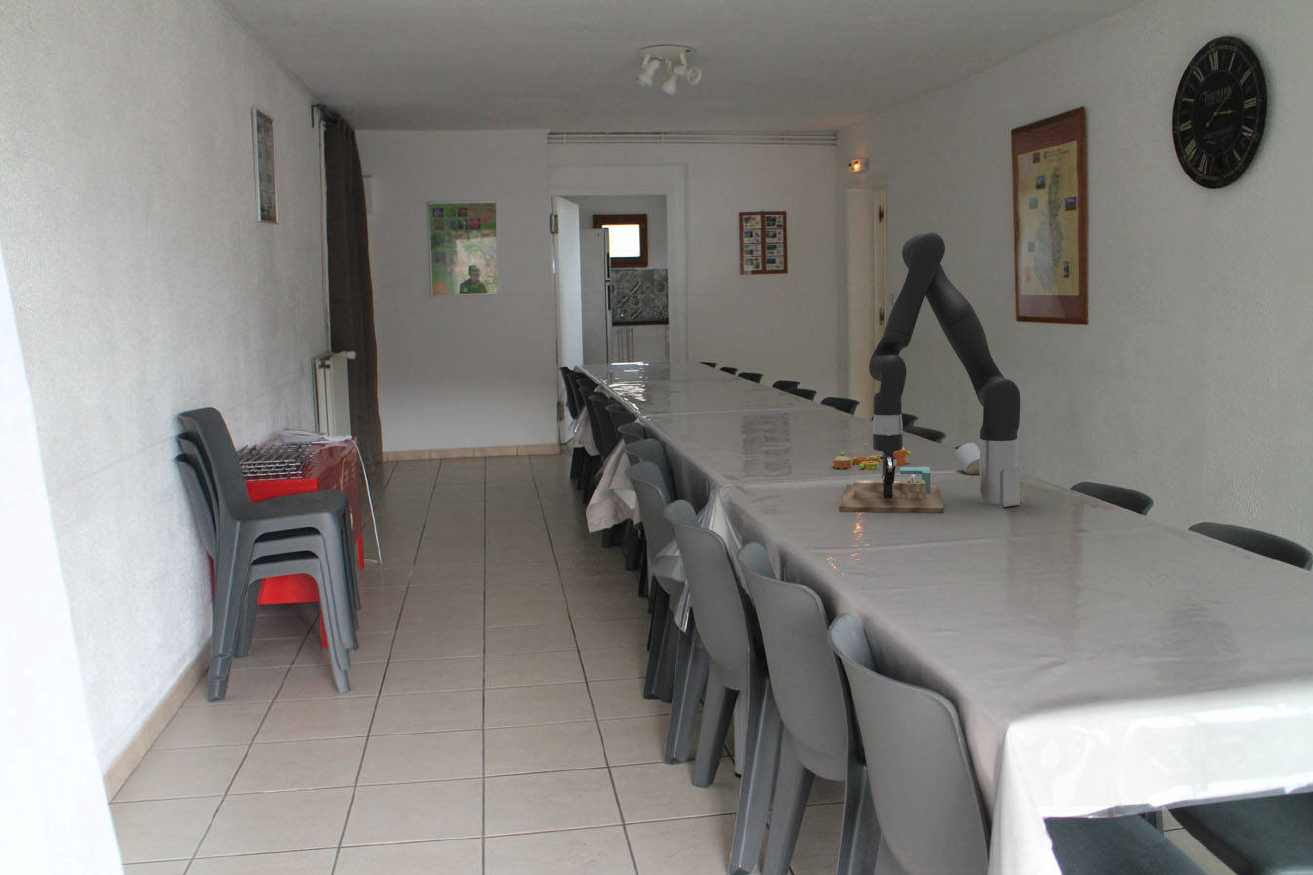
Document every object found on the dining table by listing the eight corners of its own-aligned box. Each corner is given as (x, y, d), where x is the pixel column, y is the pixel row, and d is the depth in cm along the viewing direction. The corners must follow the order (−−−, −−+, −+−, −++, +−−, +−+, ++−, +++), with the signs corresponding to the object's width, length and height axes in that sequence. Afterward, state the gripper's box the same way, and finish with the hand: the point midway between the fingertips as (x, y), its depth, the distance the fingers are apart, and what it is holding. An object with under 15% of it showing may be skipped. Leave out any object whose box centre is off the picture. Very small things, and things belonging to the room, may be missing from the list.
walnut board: (938, 489, 292) (938, 485, 292) (943, 512, 257) (943, 508, 257) (847, 488, 298) (847, 484, 298) (839, 511, 263) (839, 506, 263)
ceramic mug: (968, 481, 314) (965, 464, 309) (956, 464, 320) (953, 447, 315) (1000, 468, 314) (998, 450, 309) (987, 451, 320) (985, 434, 315)
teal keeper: (929, 486, 290) (929, 466, 289) (930, 493, 279) (930, 472, 278) (900, 486, 292) (900, 466, 291) (900, 493, 281) (900, 472, 280)
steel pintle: (916, 496, 275) (916, 474, 274) (916, 497, 273) (916, 475, 272) (910, 496, 275) (910, 474, 274) (910, 497, 273) (910, 475, 273)
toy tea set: (878, 464, 346) (878, 436, 345) (915, 469, 334) (915, 439, 333) (824, 473, 331) (824, 443, 330) (861, 478, 318) (861, 447, 317)
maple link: (924, 495, 276) (924, 480, 276) (925, 498, 271) (925, 483, 270) (854, 494, 281) (854, 479, 280) (853, 498, 275) (853, 483, 274)
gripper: (870, 429, 274) (871, 493, 276) (875, 434, 261) (875, 502, 263) (899, 428, 273) (899, 493, 275) (905, 434, 260) (905, 502, 262)
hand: (888, 497), depth 269 cm, fingers closed
